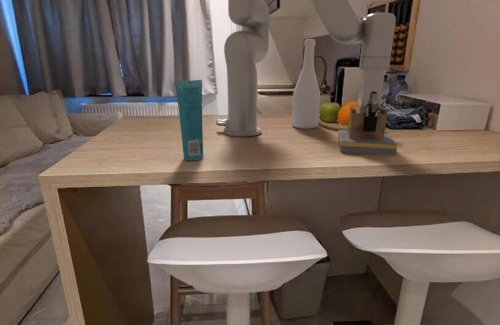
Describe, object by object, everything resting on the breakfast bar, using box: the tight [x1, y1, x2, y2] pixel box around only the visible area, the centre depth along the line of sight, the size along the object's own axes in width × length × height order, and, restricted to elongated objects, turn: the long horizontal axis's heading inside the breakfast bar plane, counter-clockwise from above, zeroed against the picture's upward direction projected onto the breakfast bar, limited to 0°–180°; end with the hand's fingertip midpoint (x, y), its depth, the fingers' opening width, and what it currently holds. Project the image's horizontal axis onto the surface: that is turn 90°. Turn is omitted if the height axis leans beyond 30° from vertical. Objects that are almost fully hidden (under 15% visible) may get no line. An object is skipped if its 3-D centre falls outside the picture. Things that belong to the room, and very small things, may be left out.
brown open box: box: [347, 105, 388, 140], centre depth 91 cm, size 9×6×8 cm
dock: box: [337, 129, 398, 156], centre depth 93 cm, size 14×14×3 cm
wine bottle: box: [291, 38, 321, 130], centre depth 114 cm, size 10×10×30 cm
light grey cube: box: [357, 97, 371, 113], centre depth 90 cm, size 4×4×4 cm
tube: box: [174, 79, 204, 162], centre depth 79 cm, size 7×5×19 cm, turn 140°
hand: (366, 127), depth 92 cm, fingers open, 9 cm apart
